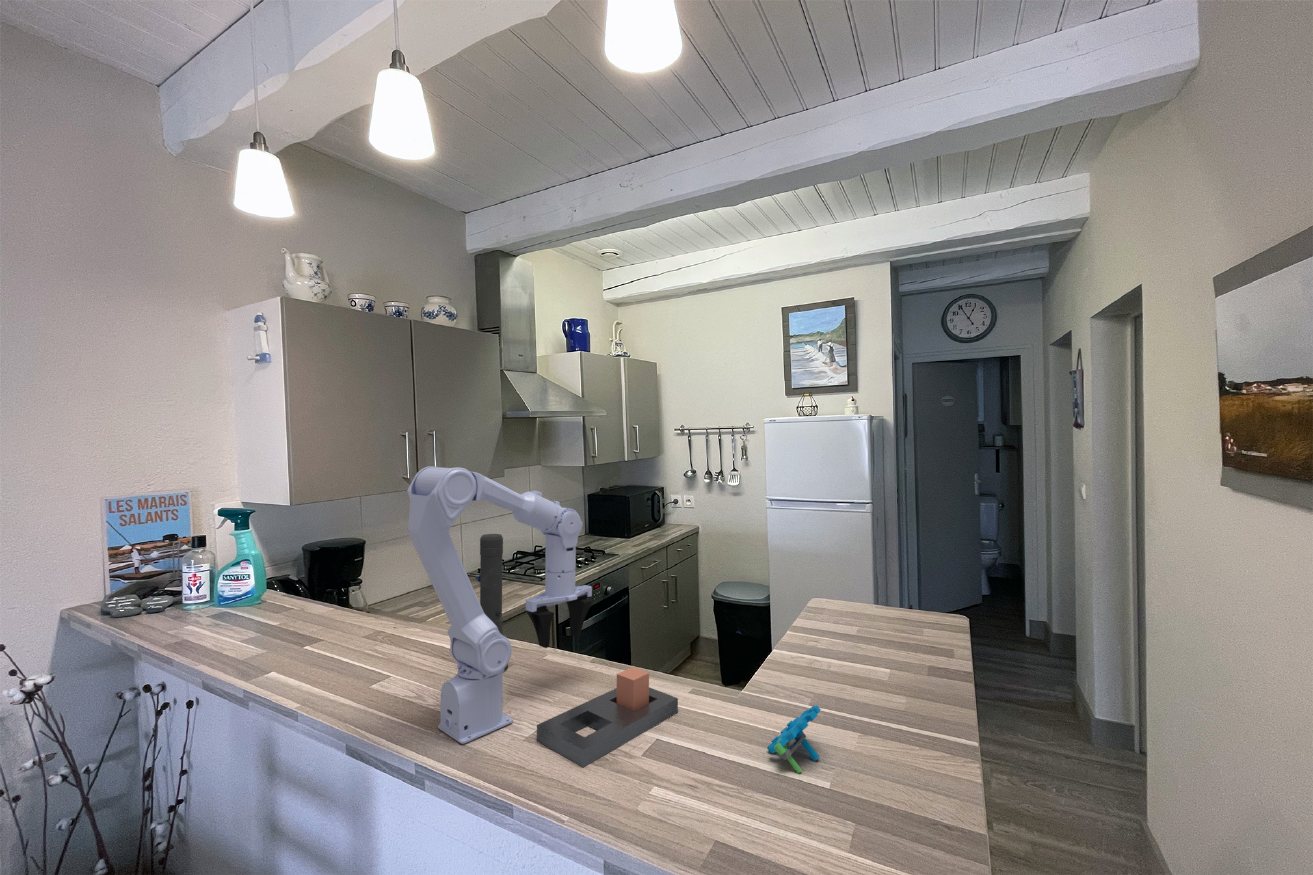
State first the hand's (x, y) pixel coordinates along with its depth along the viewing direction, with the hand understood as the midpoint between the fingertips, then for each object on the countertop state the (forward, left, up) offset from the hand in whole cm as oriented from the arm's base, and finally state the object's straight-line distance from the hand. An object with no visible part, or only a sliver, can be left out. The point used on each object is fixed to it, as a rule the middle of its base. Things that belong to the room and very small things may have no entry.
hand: (560, 640), depth 105 cm
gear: (+9, -44, -10) cm, 46 cm away
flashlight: (-3, +19, -10) cm, 21 cm away
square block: (+3, -17, -10) cm, 19 cm away
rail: (-3, -17, -9) cm, 20 cm away
